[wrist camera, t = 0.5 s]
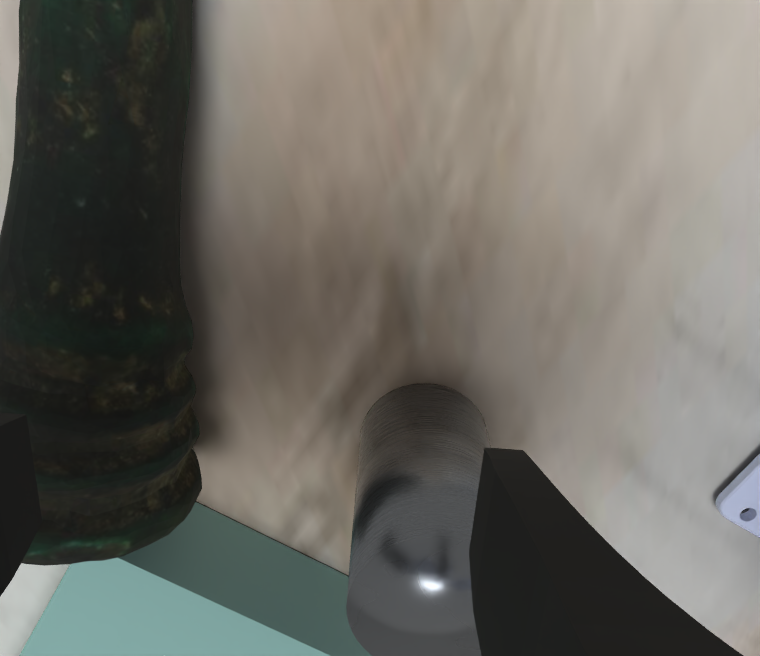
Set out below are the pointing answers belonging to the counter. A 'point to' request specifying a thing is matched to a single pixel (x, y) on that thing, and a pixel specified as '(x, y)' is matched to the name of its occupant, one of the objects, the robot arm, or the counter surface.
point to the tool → (100, 274)
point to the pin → (416, 524)
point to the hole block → (199, 599)
